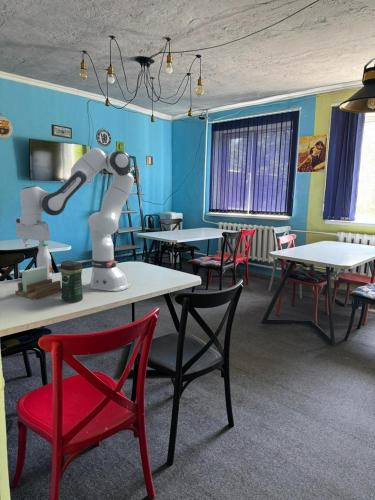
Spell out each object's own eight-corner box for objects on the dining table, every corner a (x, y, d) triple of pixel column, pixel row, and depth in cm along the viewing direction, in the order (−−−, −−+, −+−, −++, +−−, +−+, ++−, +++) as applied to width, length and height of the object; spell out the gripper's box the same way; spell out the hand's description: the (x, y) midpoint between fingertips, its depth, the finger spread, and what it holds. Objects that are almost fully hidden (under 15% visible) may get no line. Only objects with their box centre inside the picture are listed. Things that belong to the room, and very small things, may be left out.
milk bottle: (46, 279, 194) (45, 244, 191) (34, 278, 196) (32, 243, 192) (54, 276, 202) (53, 242, 198) (42, 275, 203) (41, 241, 200)
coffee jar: (86, 299, 163) (85, 261, 159) (72, 303, 156) (71, 263, 153) (72, 295, 168) (71, 258, 164) (58, 299, 161) (57, 260, 158)
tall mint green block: (47, 286, 176) (46, 267, 174) (27, 292, 166) (26, 272, 164) (43, 285, 178) (42, 266, 176) (22, 291, 167) (21, 271, 165)
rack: (63, 291, 174) (63, 280, 173) (36, 299, 160) (35, 288, 159) (43, 286, 181) (42, 276, 180) (15, 294, 167) (14, 283, 166)
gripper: (52, 220, 163) (54, 249, 166) (24, 218, 173) (25, 245, 175) (41, 222, 158) (43, 251, 161) (12, 219, 167) (14, 247, 170)
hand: (34, 248), depth 168 cm, fingers open, 8 cm apart
